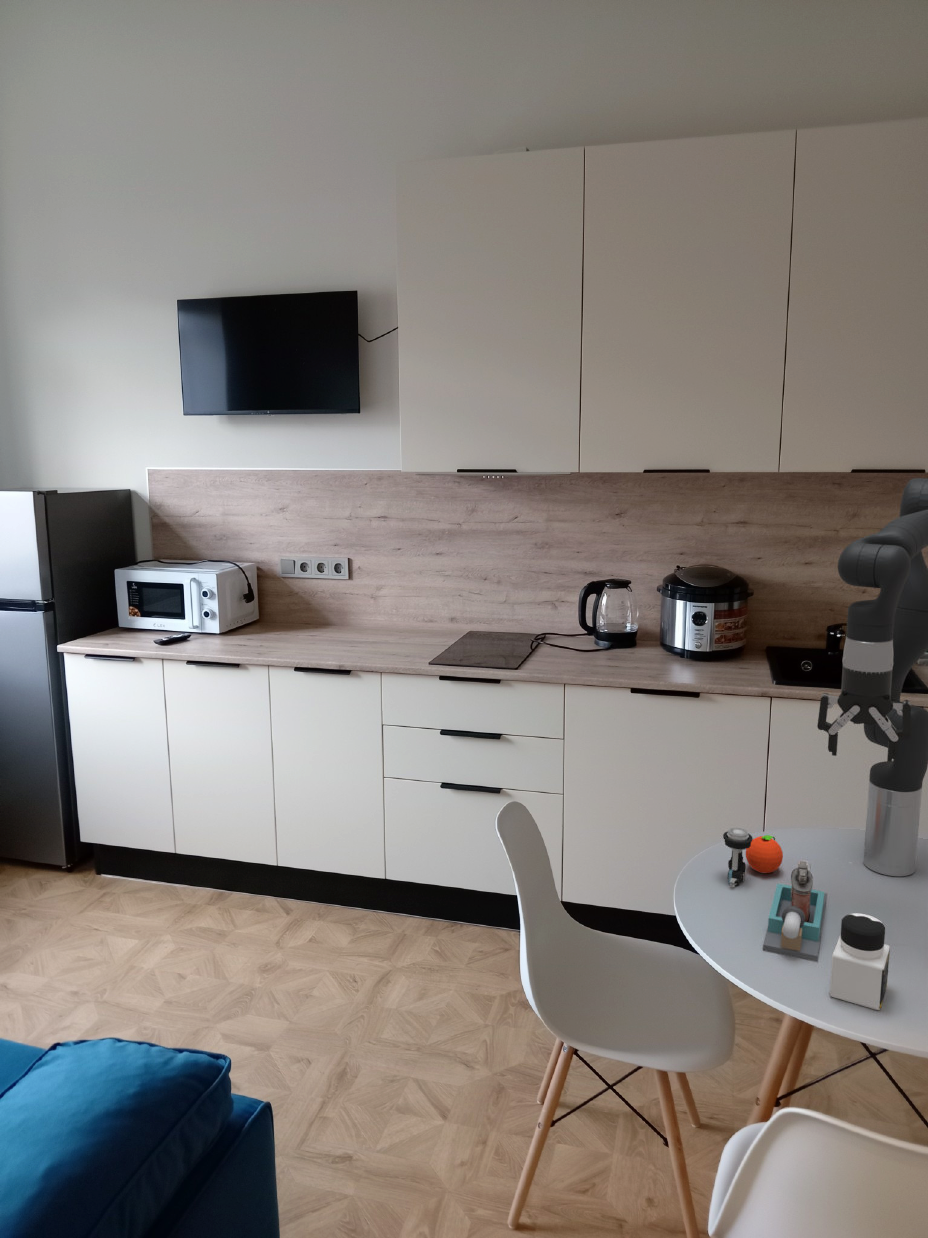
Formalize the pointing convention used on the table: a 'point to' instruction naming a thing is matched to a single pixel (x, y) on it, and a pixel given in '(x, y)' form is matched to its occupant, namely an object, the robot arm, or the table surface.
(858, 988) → the medicine bottle
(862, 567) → the robot arm
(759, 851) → the clementine
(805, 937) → the shaft cradle
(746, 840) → the push button
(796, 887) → the lighter
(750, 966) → the table surface
